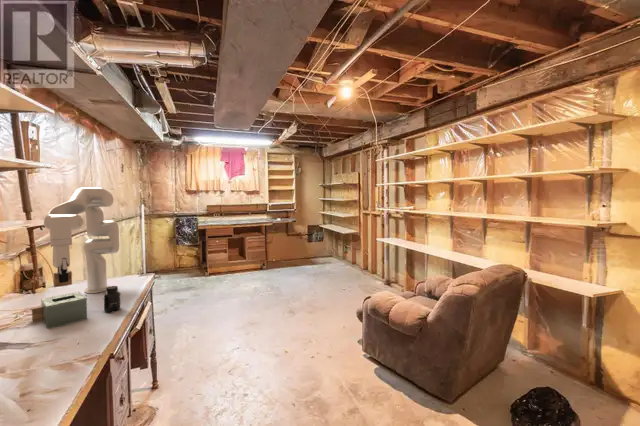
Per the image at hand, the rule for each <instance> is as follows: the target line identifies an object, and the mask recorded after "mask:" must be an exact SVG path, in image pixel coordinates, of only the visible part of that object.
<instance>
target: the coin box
mask: <svg viewBox="0 0 640 426" xmlns="http://www.w3.org/2000/svg"><path fill="white" fill-rule="evenodd" d="M40 302H41V304H40V306H42V320H41V321H42V322H43V324H44V326H45V327H46V329H53V328H56V327H60V326H65V325H69V324H72V323H75V322H80V321H84V320H87V319H88V309H87V308H88V307H87V305H88V304H87V297H86V296H85V295H84V294H82V293H81V292H80V291H75V292H70V293H65V294H61V295H59V294H58V295H55V296H50V297H45V298H41V300H40Z"/></svg>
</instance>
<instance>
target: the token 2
mask: <svg viewBox="0 0 640 426" xmlns="http://www.w3.org/2000/svg"><path fill="white" fill-rule="evenodd" d="M59 274H60V272H58V271H57V272H53V286H54V288H57V287H64V286H70V285H73V280H72V279H73V272H72V271H71V270H68V282H63V283H59Z"/></svg>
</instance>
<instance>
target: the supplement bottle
mask: <svg viewBox="0 0 640 426" xmlns="http://www.w3.org/2000/svg"><path fill="white" fill-rule="evenodd" d="M109 286H110V287H107V288H106V291H105V293H104V294H103V312H104V313H108V314H109V313H110V314H111V313H115V312H118V311H120V310H121V292H120V291H119V290H118V288H119V287H118V286H117V285H109Z"/></svg>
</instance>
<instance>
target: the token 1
mask: <svg viewBox="0 0 640 426" xmlns="http://www.w3.org/2000/svg"><path fill="white" fill-rule="evenodd" d="M31 319H32V322H37V321H43V320H42V306H41V305H37V306H32V307H31Z"/></svg>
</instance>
